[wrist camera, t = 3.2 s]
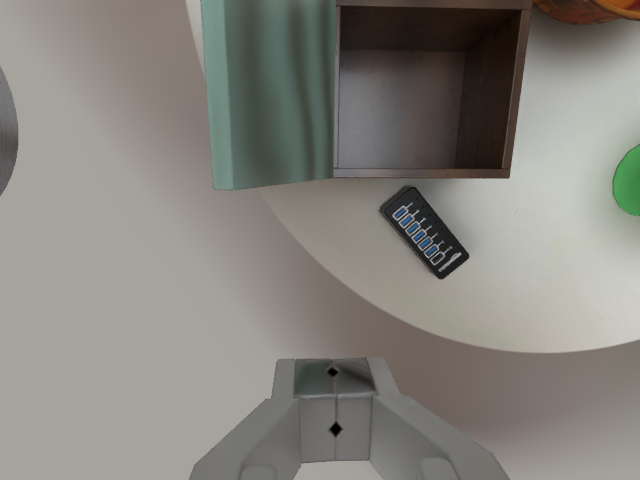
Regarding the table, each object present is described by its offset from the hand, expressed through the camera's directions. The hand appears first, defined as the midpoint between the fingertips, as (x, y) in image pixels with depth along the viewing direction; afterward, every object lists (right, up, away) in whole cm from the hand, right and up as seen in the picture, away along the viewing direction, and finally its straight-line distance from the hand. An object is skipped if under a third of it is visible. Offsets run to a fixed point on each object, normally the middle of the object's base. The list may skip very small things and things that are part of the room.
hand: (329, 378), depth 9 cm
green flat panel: (-1, +14, +8) cm, 16 cm away
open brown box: (+8, +18, +26) cm, 33 cm away
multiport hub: (+12, +5, +29) cm, 32 cm away
